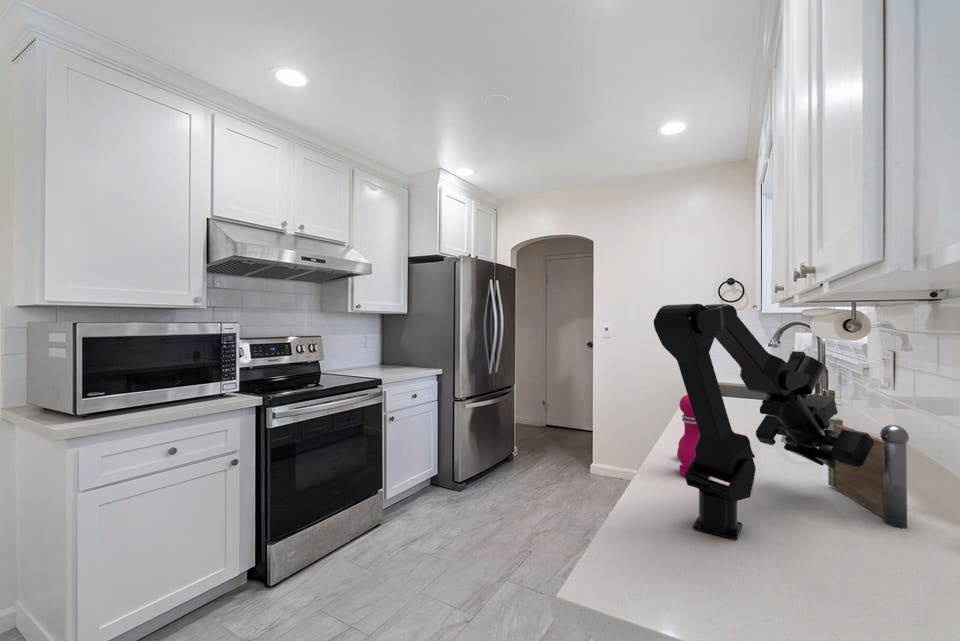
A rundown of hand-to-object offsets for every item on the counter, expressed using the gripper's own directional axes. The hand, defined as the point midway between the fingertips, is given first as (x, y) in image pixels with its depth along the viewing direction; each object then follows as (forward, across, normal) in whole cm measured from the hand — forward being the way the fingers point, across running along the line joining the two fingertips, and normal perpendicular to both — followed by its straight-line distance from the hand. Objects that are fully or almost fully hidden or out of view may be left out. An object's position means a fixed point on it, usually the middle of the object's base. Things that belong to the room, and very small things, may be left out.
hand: (828, 464), depth 89 cm
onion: (0, +28, +9) cm, 29 cm away
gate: (+6, -4, +2) cm, 7 cm away
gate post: (+2, -12, +6) cm, 14 cm away
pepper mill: (-5, +20, +15) cm, 25 cm away
